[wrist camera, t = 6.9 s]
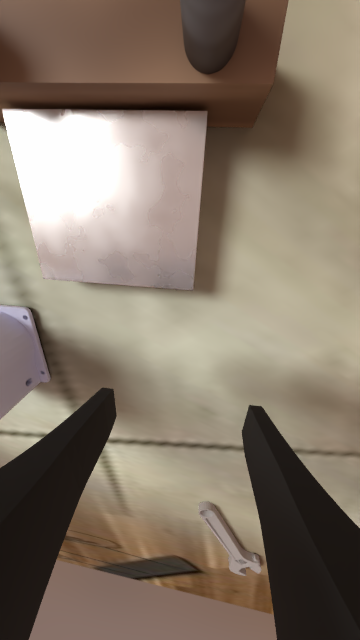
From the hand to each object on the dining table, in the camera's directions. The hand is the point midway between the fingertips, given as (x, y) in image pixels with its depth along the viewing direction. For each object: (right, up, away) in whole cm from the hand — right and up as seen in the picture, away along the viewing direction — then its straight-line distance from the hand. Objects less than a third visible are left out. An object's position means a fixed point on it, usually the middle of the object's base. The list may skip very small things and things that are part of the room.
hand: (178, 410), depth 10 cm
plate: (-4, +13, +5) cm, 15 cm away
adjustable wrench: (+10, -35, +26) cm, 45 cm away
